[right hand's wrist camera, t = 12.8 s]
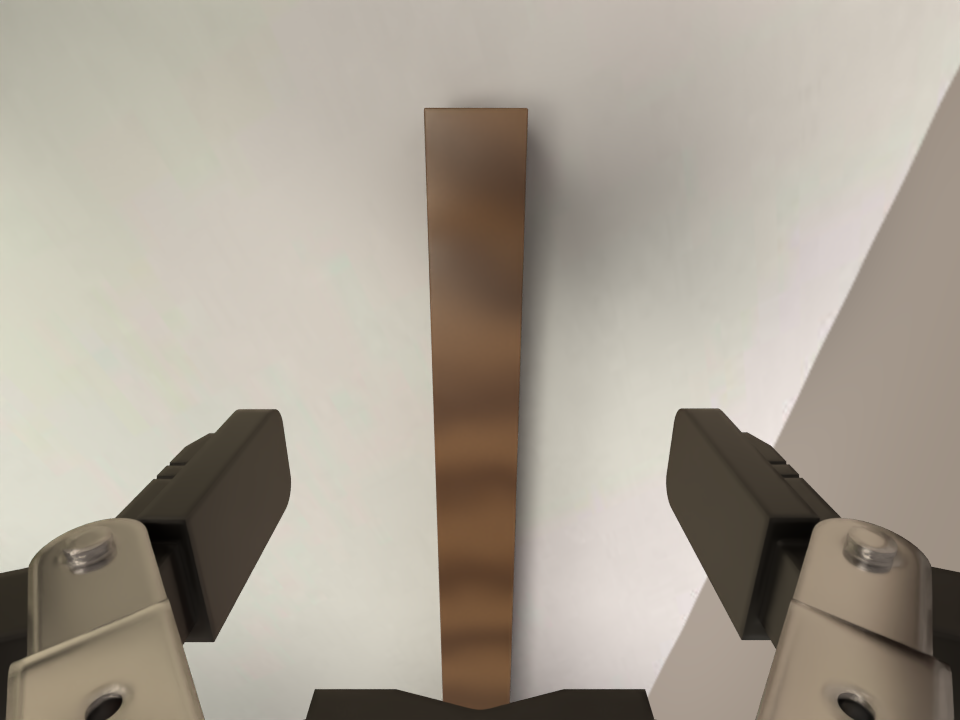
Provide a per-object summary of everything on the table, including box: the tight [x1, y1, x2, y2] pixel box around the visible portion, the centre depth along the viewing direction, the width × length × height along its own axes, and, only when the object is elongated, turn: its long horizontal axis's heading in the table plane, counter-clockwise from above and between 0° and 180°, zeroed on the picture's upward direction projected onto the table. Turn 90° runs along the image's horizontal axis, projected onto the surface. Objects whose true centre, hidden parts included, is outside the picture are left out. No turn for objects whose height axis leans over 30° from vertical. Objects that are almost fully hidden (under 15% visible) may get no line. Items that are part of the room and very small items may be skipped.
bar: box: [424, 108, 528, 710], centre depth 36 cm, size 51×4×7 cm, turn 0°
